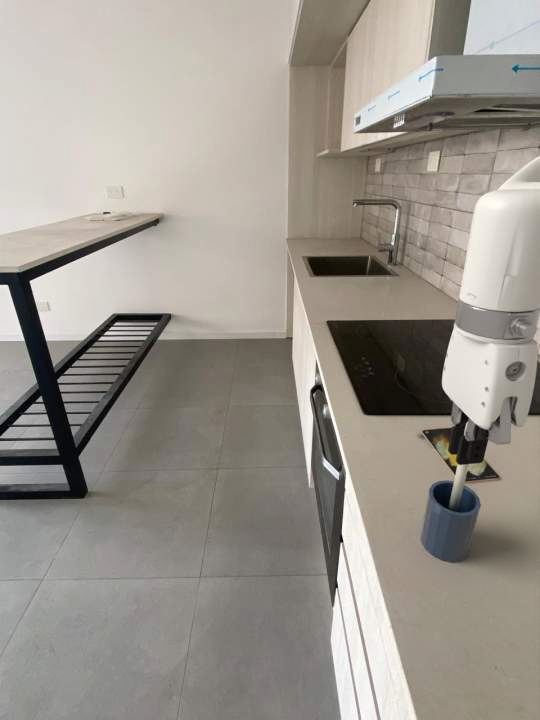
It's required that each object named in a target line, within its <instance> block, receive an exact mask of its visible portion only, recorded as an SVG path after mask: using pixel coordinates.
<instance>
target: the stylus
mask: <svg viewBox="0 0 540 720" xmlns="http://www.w3.org/2000/svg"><path fill="white" fill-rule="evenodd" d="M467 424H468V422H467V423H466V427H465V431H466V428H467ZM464 435H465V432H464ZM468 465H469V464H465V465H459V464H458V465H457V470H456V475H455V477H454V484H453V489H452V494H451V498H450V503H449V508H448V510H451V511H454V512H458V510H459V505H460V501H461V496H462V492H463V487H464V485H465V484H466V483H465V479H466V474H467V470H468Z"/></svg>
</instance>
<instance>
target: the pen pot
mask: <svg viewBox="0 0 540 720" xmlns="http://www.w3.org/2000/svg"><path fill="white" fill-rule="evenodd" d="M453 484H454V481H453V480H447V479H446V480H438V481H435V482H434V483H432V484H431V485H430V487H429V489H428V492H427V498H426V503H425V507H424V514H423V520H422V524H421V530H420V542H421V545H422V546H423V548H424V549H425V551H426V552H428V553H429V554H430V555H431V556H432V557H434V558H435V559H437V560H440V561H443V562H445V563H458V562H461V561H464V560H465V559H466V558H467V556H468V554H469V552H470V548H471V545H472V541H473V537H474V533H475V529H476V525H477V522H478V519H479V515H480V511H481V507H482V504H481V500H480V499H481V498H480V497H479V496H478V494H477V493H476V492H475V491H474V489H473V490H472V488H470V487H469V486H467V485H465V484H464V487H463V492H462V496H461V501H460V505H459V510H458V512H454V511H451V510H448V508H449V503H450V498H451V494H452V489H453Z"/></svg>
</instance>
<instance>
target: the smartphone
mask: <svg viewBox="0 0 540 720" xmlns="http://www.w3.org/2000/svg"><path fill="white" fill-rule="evenodd" d="M451 431H452V427H446V428H445V427H444V428H443V427H442V428H432V429H431V428H430V429H423V430H422V431H421V434H422V435H423V437H424V438H425V439H426V441H427V442H428V444H429V445H430V446H431V447H432V449H433V450H434V451H435V453H437V455H438V456H439V458H440V459H441V460H442V462H443V463H444V464H445V466H446V467H447V468H448V470H449V471H450V473H451V474H452V475H453V476H454V478H455V475H456V470H457V465H458V463H457V462H456V456H457V455H452V454H450V453H449V452H448V447H449V442H450V437H451ZM499 478H500V475H499V474H498V473H497V472H496V471H495V470H494V469H493V468H492V466H491V465H490V464H489V463H488V462H487V460H485V459H484V460H483V462H481V463H475V464H469V465H468V470H467V474H466V479H465V483H464V484H473V483H483V482H485V483H486V482H494V481H495V482H496V481H498V480H499Z"/></svg>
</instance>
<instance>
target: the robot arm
mask: <svg viewBox="0 0 540 720" xmlns="http://www.w3.org/2000/svg"><path fill="white" fill-rule="evenodd" d="M472 214H473V215H472V218H471V225H470V230H469V236H468V242H467V249H466V253H465V259H464V265H463V271H462V276H461V277H462V278H461V282H460V283H461V284H460V290H459V295H458V299H457V306H456V311H455V312H456V313H455V318H454V323H453V330H452V332H451V336H450V340H449V342H448V347H447V351H446V354H445V359H444V363H443V369H442V377H441V387H442V390H443V391H444V393H445V394H446V396H448V398H449V400H450V405H451V416H450V421H451V424H452V425H453V426H451V428H452V431H451V437H450V442H449V447H448V452H449V453H450V454H452V455H457V456H456V462H457V463H458V464H459V465H465V464H475V463H481V462H483V460H485V455H486V451H487V447H488V443H489V442H491V443H493V444H495V445H497V446H499V445H509V444H511V441H512V425H513V426H514V427H516V428H517V427H518V428H521V427H523V426H525V425H526V422H527V419H528V417H529V412H530V408H531V404H532V399H533V396H534V395H533V394H534V389H535V383H536V378H537V377H536V376H537V369H538V342H537V341H536V340H535V339H534V338H535V335H536V334H537V331H538V323H539V320H540V155H538V156H537V157H535V158H533V159H532V160H531V161H529V162H528V163H527V164H525V165H524V166H523V167H522V168H520V169H519V170H518V171H517V172H516V173H514V174H513V175H511V176H510V177H509V178H508V179H507V180H506V181H504V182H503V183H502V184H501V185H500V186H499V187H498V188H497V189H496V190H491V191H488V192H486V193H484V194H482V196H480V197H479V199H478V200H477V201H476V203H475V206H474V209H473V213H472ZM467 422H468V424H467V428H466V431H465V427H466V423H467ZM464 432H465V435H464Z"/></svg>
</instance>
